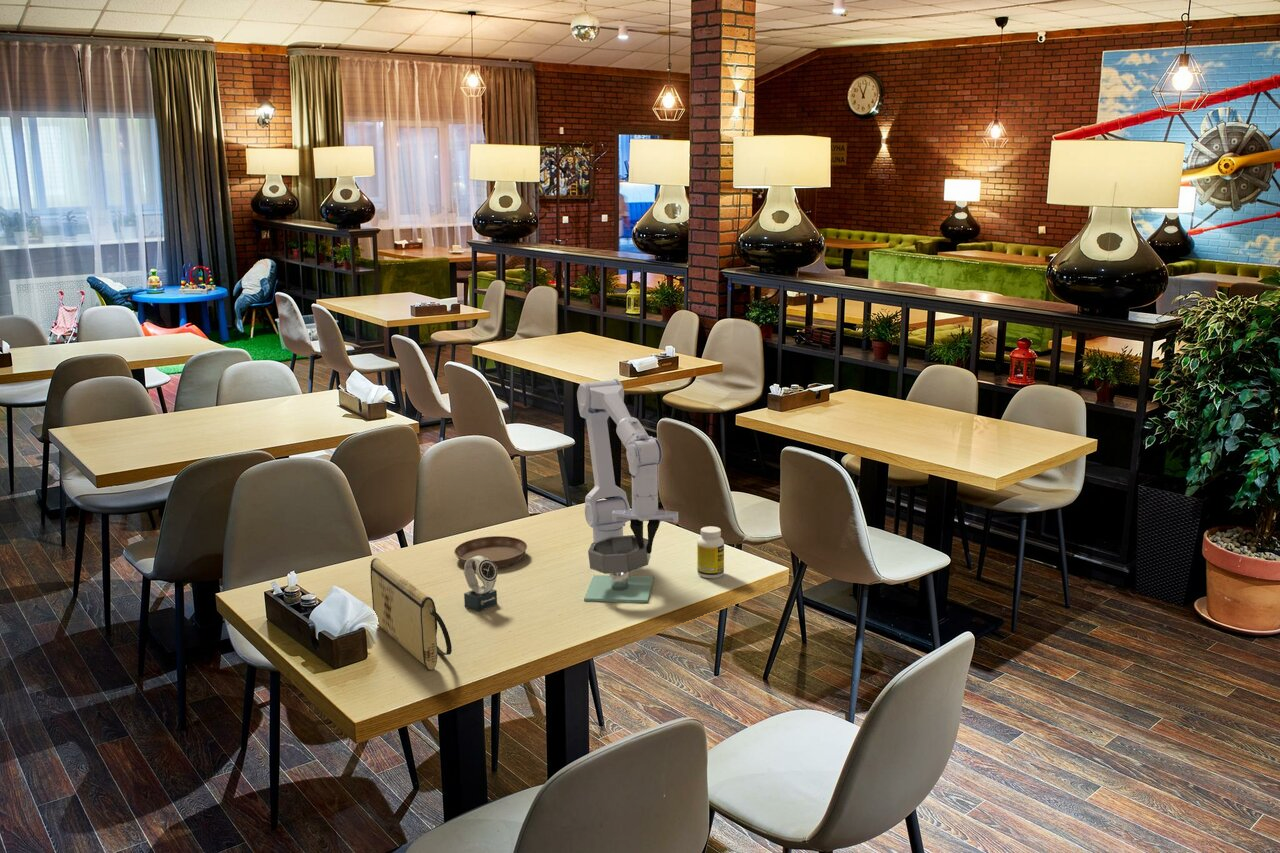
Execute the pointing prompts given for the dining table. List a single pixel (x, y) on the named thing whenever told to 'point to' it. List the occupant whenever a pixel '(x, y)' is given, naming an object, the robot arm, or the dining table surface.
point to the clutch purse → (407, 614)
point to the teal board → (634, 593)
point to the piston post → (619, 581)
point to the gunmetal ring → (618, 554)
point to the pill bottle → (710, 553)
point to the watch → (487, 574)
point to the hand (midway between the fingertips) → (645, 551)
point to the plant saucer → (492, 550)
